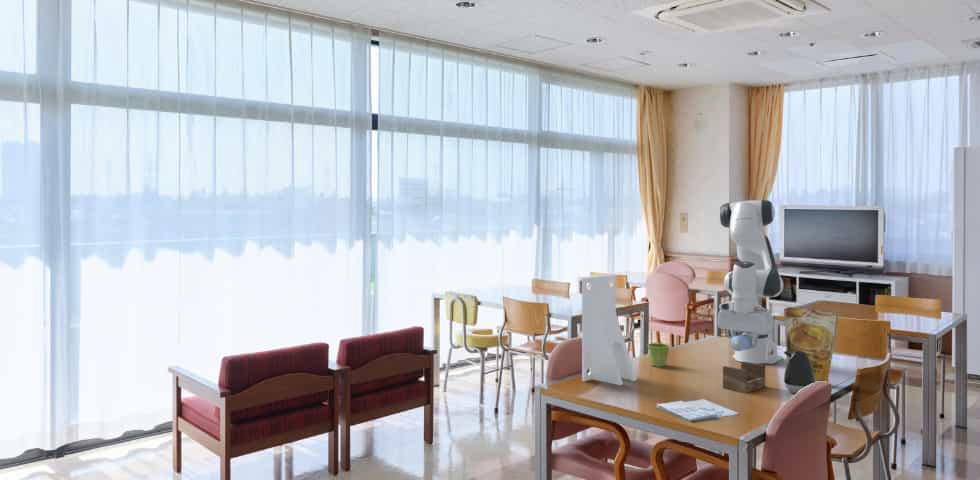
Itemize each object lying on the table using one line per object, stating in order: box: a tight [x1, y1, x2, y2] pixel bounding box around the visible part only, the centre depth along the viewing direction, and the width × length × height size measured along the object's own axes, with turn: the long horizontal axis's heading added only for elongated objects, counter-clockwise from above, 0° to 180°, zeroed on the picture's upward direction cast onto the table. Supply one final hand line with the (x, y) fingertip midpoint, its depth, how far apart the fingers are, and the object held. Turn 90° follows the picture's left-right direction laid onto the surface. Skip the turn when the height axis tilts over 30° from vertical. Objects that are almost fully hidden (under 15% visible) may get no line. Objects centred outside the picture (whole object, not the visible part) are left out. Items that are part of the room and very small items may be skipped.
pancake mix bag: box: [783, 306, 839, 383], centre depth 269 cm, size 7×19×28 cm, turn 42°
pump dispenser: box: [783, 350, 815, 395], centre depth 254 cm, size 10×10×15 cm
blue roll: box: [730, 333, 757, 351], centre depth 262 cm, size 9×5×5 cm, turn 130°
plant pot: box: [647, 342, 671, 368], centre depth 301 cm, size 9×9×9 cm
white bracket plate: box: [581, 273, 637, 386], centre depth 276 cm, size 20×14×40 cm
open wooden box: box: [722, 361, 766, 393], centre depth 263 cm, size 14×9×8 cm, turn 130°
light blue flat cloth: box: [655, 398, 740, 423], centre depth 232 cm, size 19×20×2 cm
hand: (744, 343), depth 262 cm, fingers closed on blue roll, 5 cm apart
